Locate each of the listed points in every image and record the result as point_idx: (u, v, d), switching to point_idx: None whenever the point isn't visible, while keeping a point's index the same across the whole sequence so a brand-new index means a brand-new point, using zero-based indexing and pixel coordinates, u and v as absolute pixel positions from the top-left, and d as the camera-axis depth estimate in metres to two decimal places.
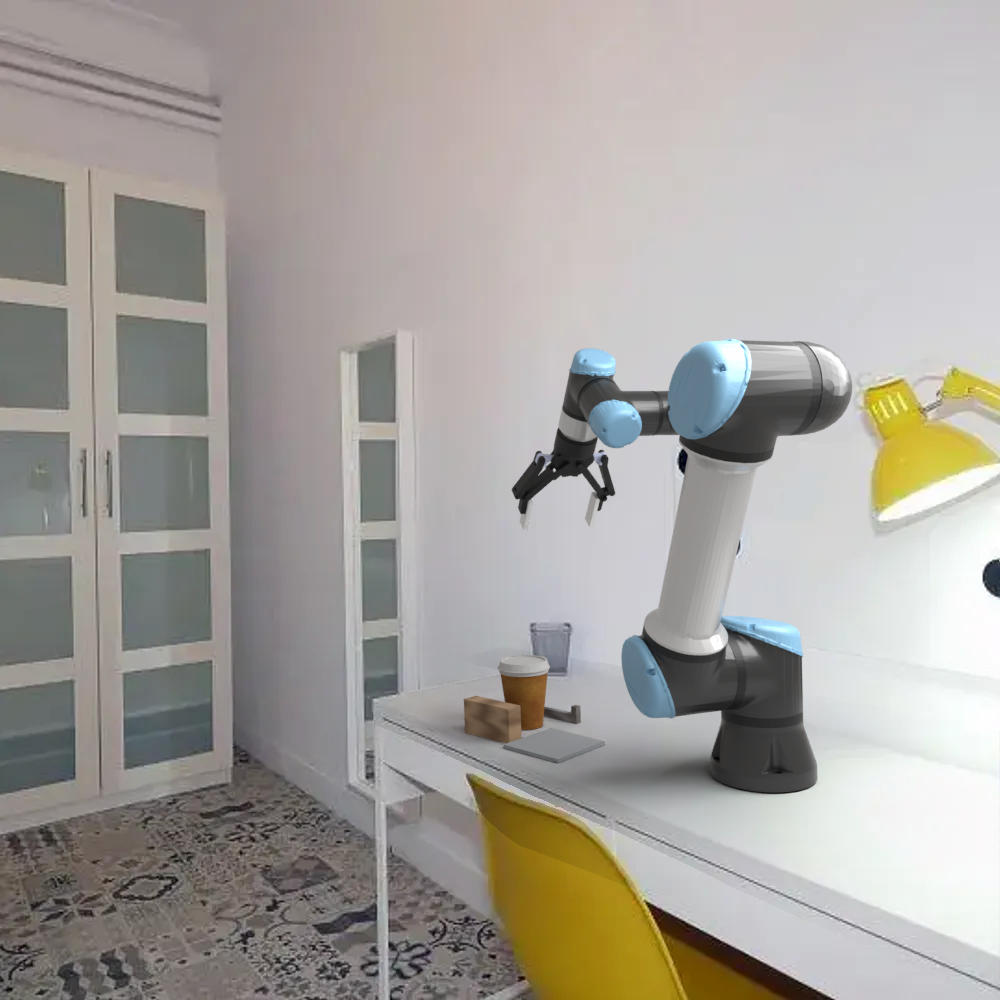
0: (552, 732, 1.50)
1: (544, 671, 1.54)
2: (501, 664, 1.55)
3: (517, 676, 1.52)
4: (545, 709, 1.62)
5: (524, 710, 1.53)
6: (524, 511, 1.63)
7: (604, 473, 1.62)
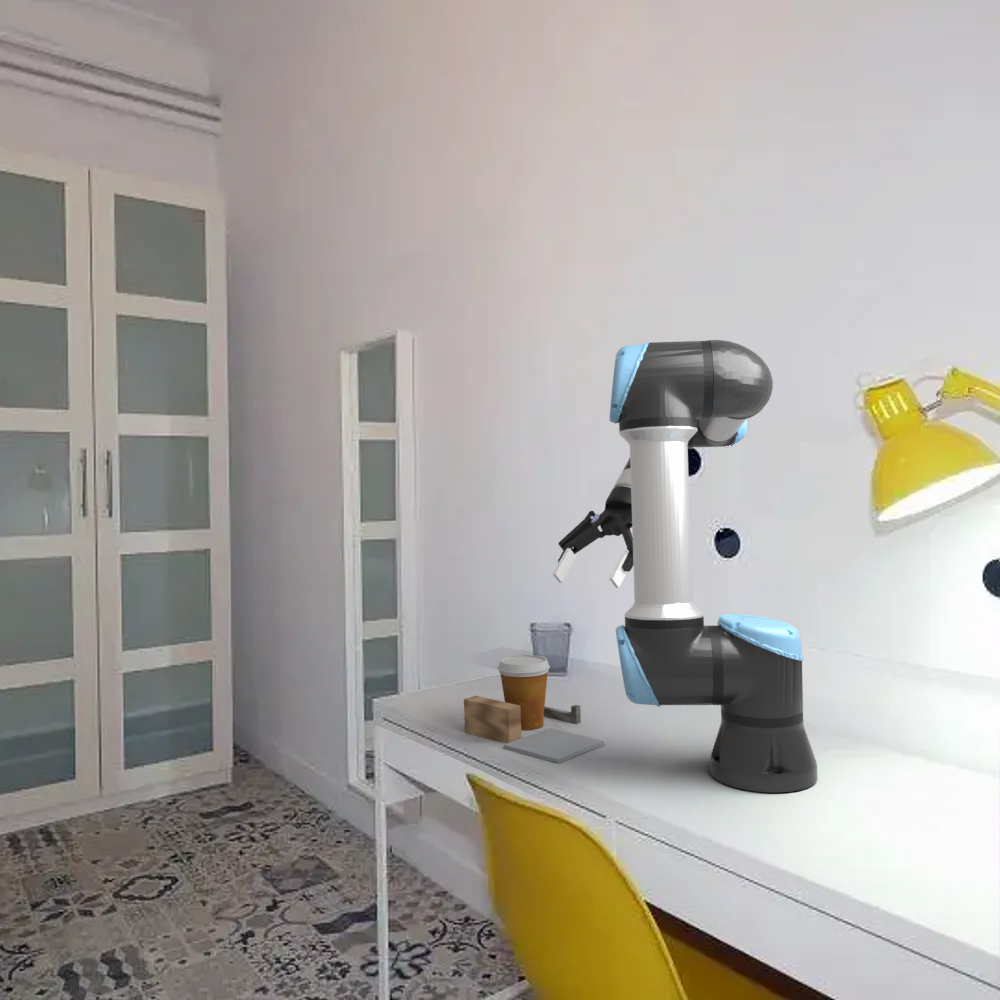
0: (552, 732, 1.50)
1: (544, 671, 1.54)
2: (501, 664, 1.55)
3: (517, 676, 1.52)
4: (545, 709, 1.62)
5: (524, 710, 1.53)
6: None
7: None
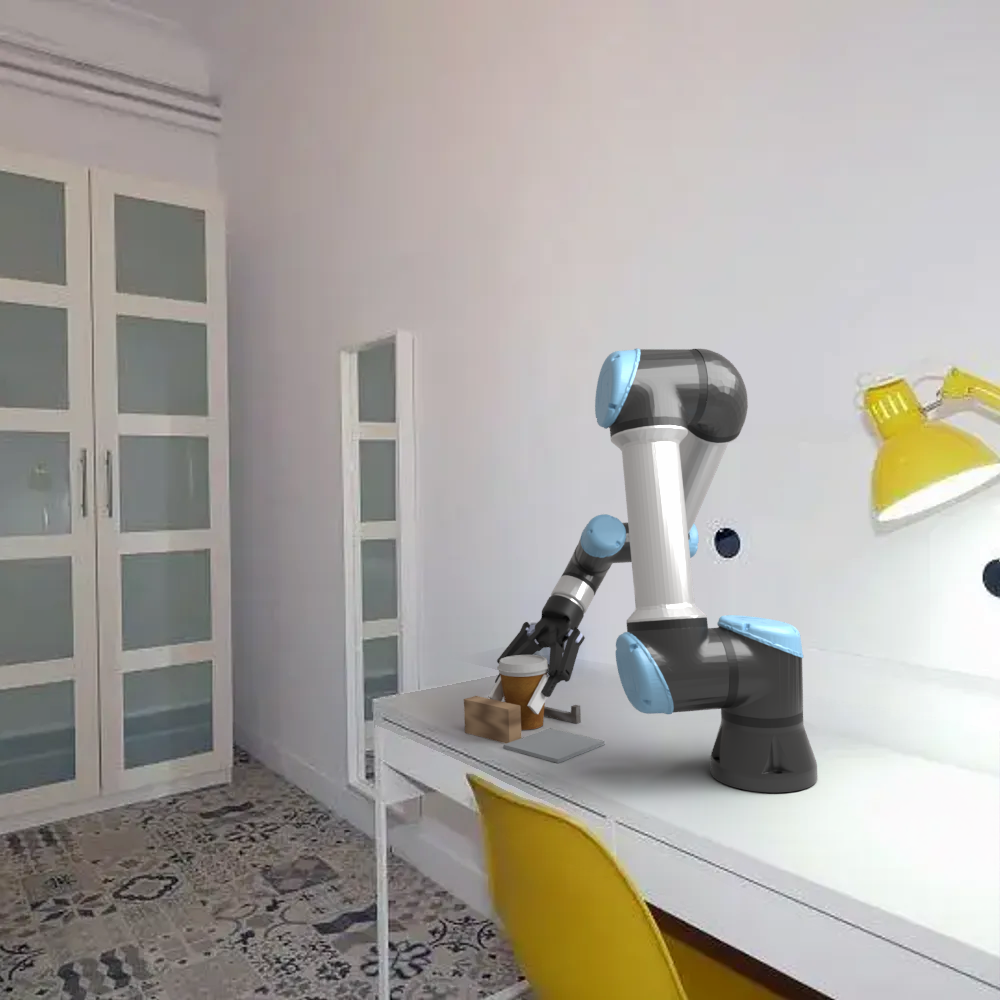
0: (552, 732, 1.50)
1: (544, 671, 1.54)
2: (501, 664, 1.55)
3: (517, 676, 1.52)
4: (545, 709, 1.62)
5: (524, 709, 1.53)
6: None
7: (567, 645, 1.56)
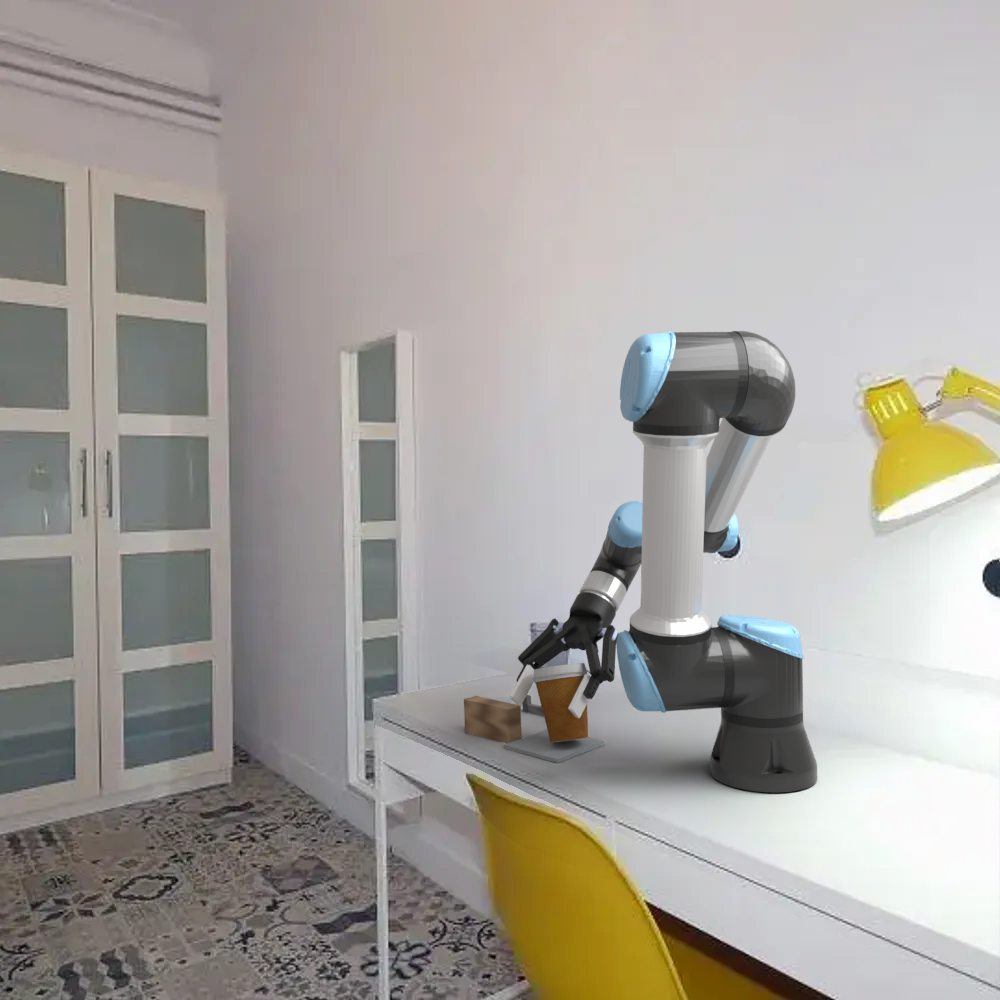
0: None
1: (582, 672, 1.42)
2: (535, 671, 1.44)
3: (554, 678, 1.41)
4: None
5: (566, 716, 1.40)
6: None
7: (604, 643, 1.43)
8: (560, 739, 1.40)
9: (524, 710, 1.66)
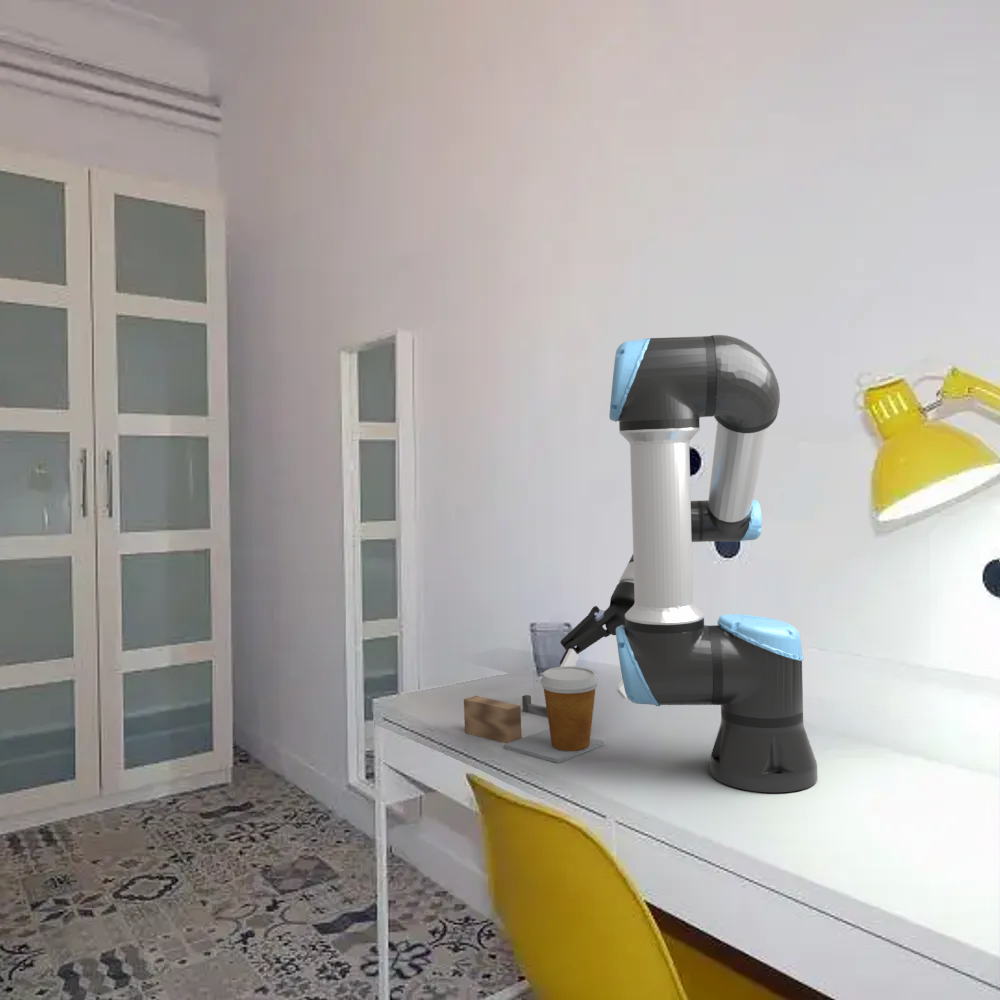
0: None
1: (594, 686, 1.39)
2: (546, 679, 1.40)
3: (565, 692, 1.38)
4: (545, 709, 1.62)
5: (572, 729, 1.39)
6: None
7: None
8: (563, 748, 1.40)
9: (524, 710, 1.66)
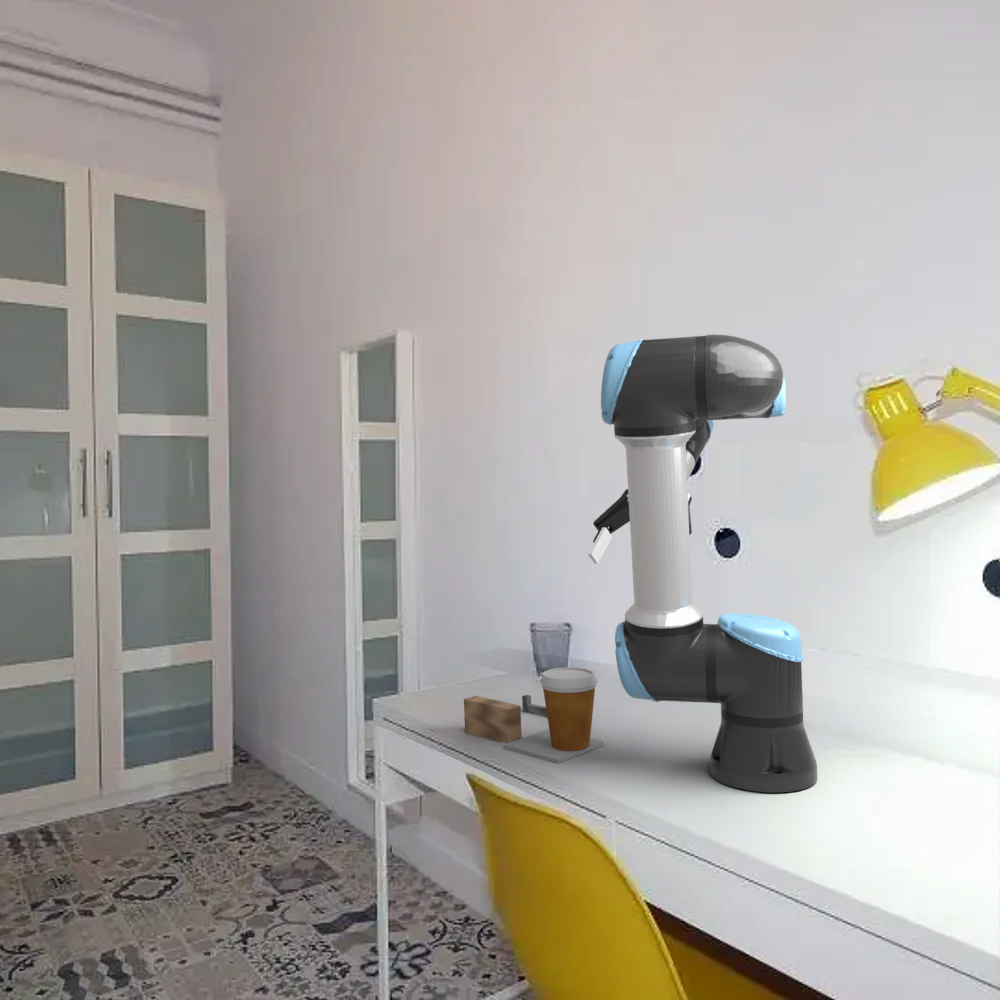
0: None
1: (593, 686, 1.40)
2: (545, 679, 1.40)
3: (565, 692, 1.38)
4: (545, 709, 1.62)
5: (572, 729, 1.39)
6: None
7: None
8: (563, 749, 1.40)
9: (524, 710, 1.66)
